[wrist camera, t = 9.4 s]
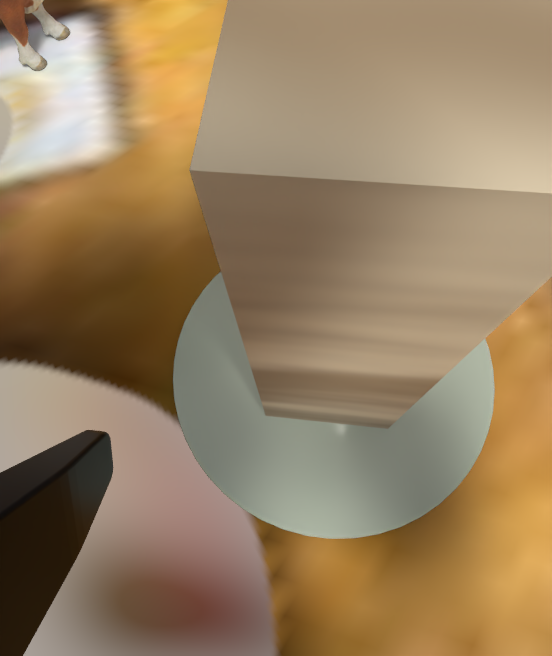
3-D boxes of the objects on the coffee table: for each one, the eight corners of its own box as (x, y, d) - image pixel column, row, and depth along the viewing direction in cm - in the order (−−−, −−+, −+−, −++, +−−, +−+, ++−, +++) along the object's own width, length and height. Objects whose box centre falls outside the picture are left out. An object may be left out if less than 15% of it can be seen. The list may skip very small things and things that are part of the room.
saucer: (501, 545, 16) (516, 548, 15) (161, 528, 17) (151, 529, 16) (465, 247, 21) (474, 232, 19) (197, 242, 21) (191, 227, 20)
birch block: (387, 428, 17) (633, 198, 4) (265, 415, 17) (189, 170, 5) (390, 316, 18) (577, -77, 6) (279, 306, 18) (247, -82, 6)
